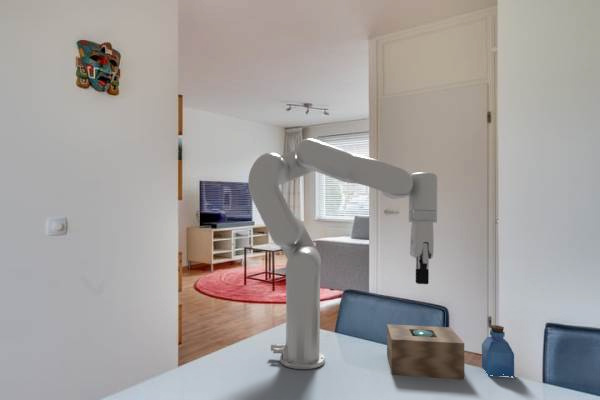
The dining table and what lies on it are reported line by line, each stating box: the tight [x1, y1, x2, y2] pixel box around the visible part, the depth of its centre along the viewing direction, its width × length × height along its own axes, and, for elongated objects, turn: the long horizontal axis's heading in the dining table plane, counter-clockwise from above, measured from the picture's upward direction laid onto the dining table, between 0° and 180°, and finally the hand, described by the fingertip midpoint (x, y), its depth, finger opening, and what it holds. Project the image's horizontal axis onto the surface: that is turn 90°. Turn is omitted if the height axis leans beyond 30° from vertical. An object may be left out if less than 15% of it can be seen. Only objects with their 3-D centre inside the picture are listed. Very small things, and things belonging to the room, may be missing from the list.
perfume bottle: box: [481, 324, 515, 378], centre depth 102 cm, size 6×6×12 cm
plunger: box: [413, 330, 433, 337], centre depth 106 cm, size 5×5×9 cm
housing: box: [386, 323, 465, 380], centre depth 106 cm, size 18×14×9 cm
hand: (421, 283), depth 107 cm, fingers closed
